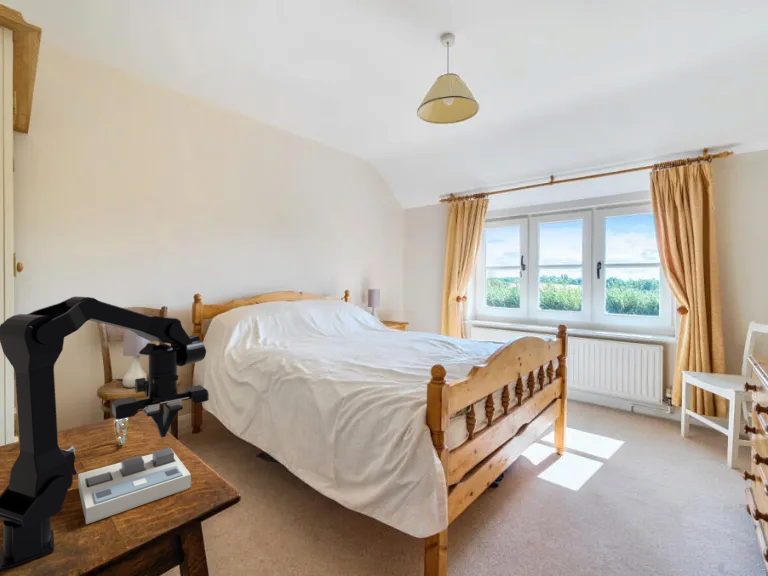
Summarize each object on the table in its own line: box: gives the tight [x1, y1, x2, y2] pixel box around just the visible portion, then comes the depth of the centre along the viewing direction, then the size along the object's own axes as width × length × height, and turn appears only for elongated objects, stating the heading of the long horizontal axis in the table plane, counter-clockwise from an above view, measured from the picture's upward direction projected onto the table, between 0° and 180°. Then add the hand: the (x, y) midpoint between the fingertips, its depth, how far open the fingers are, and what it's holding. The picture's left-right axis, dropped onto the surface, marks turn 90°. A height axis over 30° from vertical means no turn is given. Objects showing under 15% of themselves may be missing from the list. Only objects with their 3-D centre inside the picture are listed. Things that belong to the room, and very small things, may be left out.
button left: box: [87, 473, 111, 488], centre depth 78 cm, size 4×4×3 cm
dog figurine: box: [61, 444, 76, 455], centre depth 92 cm, size 3×6×4 cm
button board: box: [77, 448, 192, 525], centre depth 81 cm, size 16×18×3 cm
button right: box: [152, 447, 175, 467], centre depth 86 cm, size 4×4×3 cm
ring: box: [112, 417, 130, 446], centre depth 100 cm, size 7×3×8 cm, turn 48°
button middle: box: [121, 454, 144, 477], centre depth 82 cm, size 4×4×3 cm
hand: (162, 436), depth 86 cm, fingers closed
